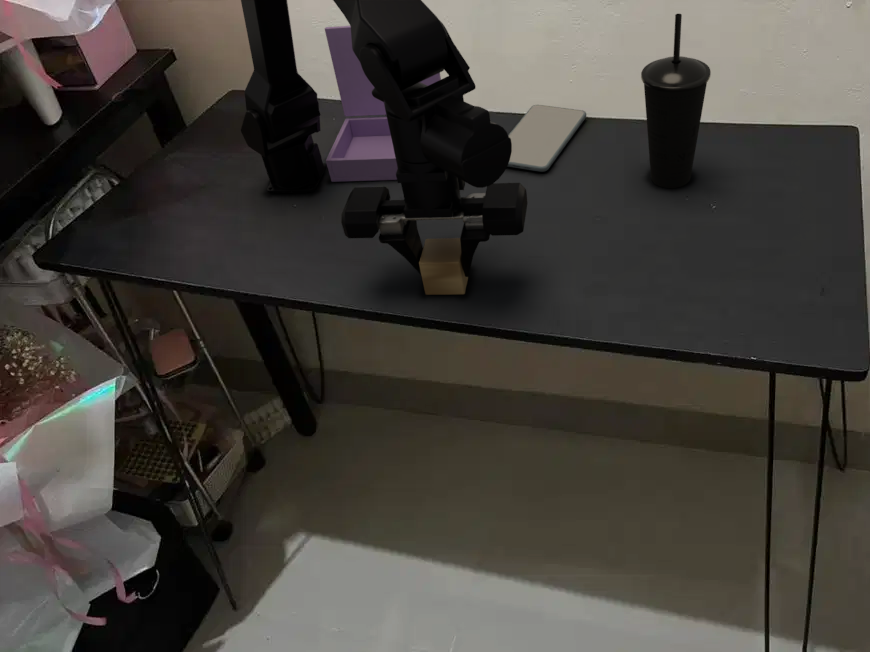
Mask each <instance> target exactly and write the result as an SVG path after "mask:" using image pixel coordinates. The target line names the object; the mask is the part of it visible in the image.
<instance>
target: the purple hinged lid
mask: <svg viewBox="0 0 870 652" xmlns="http://www.w3.org/2000/svg"><path fill="white" fill-rule="evenodd" d="M324 33H325V37H326V41H327V46H328V51H329V53H330V58H331V62H332V63H331V64H332V67H333V71H334V75H335V79H336V83H337V90H338V93H339V97H340V101H341V106H342V110H343V111H342V112H343V114H344V117H365V116H366V117H367V116H385V115H386V111H385V106H384V102H382V101H380V100H378V99H376V98H374V97H373V95H372V90H373V89H374V86H373V85H372V84H371V82H370V81H369V80H368V78H367V77H366V75H365V73H364V71H363V69H362V66H361V63H360V61H359V60H358V58H357V57H356V55H355V53H354V52H353V49H352V39H351V26H350V25H340V26H337V25H336V26H325V27H324ZM441 79H442V75H441V72H440V73H438V74H436V75H434V76H431V77H429V78H427V79H425V80H423V81H421V83H423V84H425V85H427V86H429V85H431V84H433V83H435V82H437V81H439V80H441Z"/></svg>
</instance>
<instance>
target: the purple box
mask: <svg viewBox="0 0 870 652" xmlns="http://www.w3.org/2000/svg"><path fill="white" fill-rule="evenodd" d="M325 163H326V164H325V165H326V167H327V170H328V175H329V177H330V181H331V183H334V182H335V183H337V182H339V183H340V182H367V181H370V182H371V181H397V177H396V172H397V169H398V167H397V163H396V158H395V153H394V148H393V144H392V139H391V134H390V130H389V125H388V120H387V116H368V117H367V116H366V117H365V116H361V117H346V118H345V119H344V121H343V123H342V125H341V127H340V130H339V132H338V133H337V136H336V138H335V140H334V143H333V144H332V147H331V149H330V150H329V153H328V155H327V157H326V160H325Z"/></svg>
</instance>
